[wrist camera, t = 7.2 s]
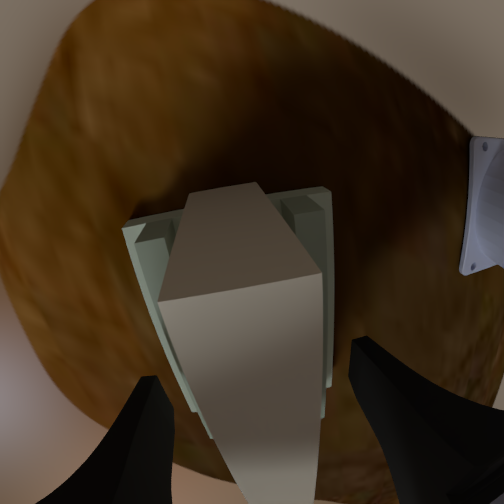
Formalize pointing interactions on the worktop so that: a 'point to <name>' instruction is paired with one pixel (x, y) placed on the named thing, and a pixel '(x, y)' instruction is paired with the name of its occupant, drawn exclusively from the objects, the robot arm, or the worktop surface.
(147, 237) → the rack
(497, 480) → the robot arm
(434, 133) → the worktop surface
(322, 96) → the worktop surface
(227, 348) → the beige rectangular block
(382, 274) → the worktop surface
